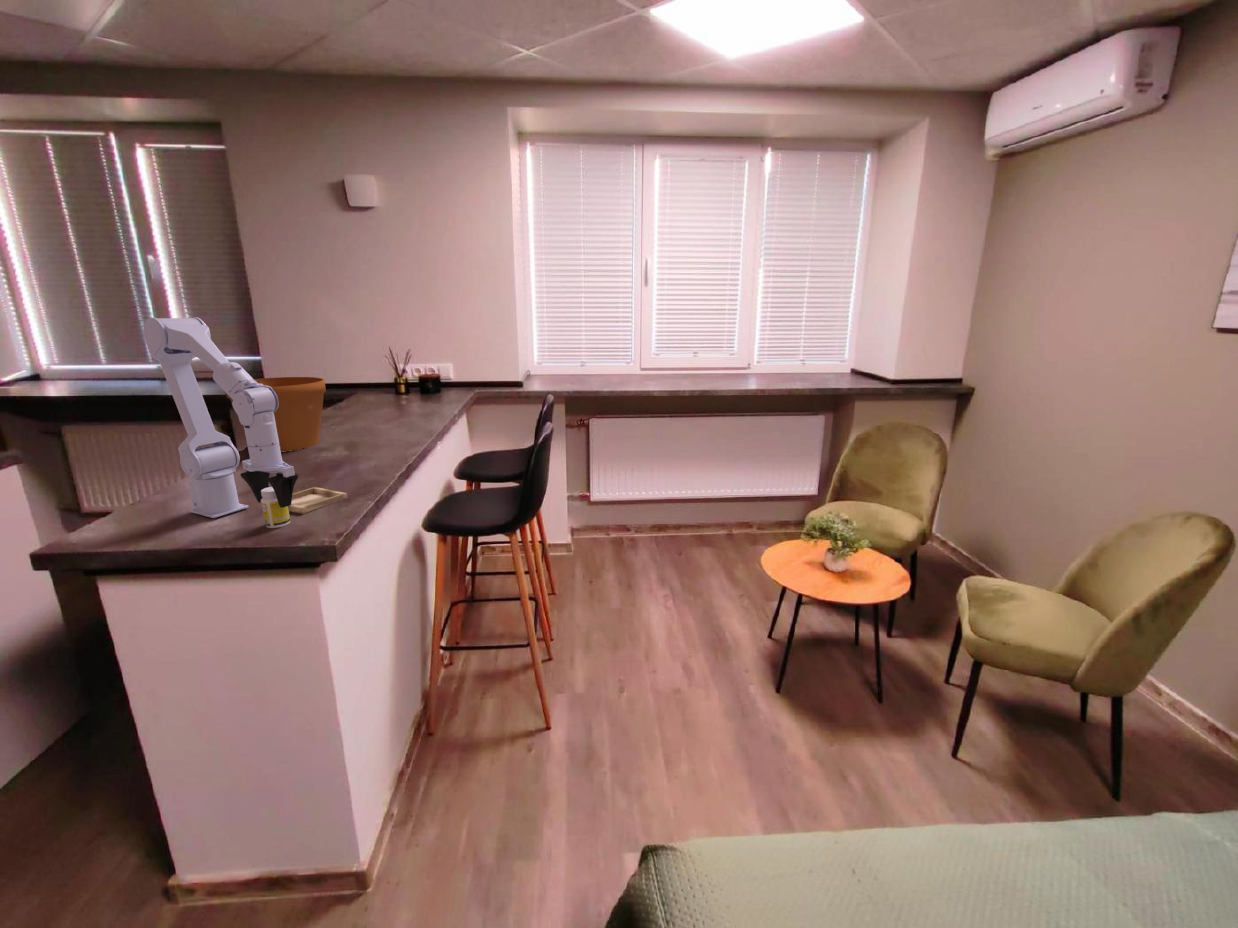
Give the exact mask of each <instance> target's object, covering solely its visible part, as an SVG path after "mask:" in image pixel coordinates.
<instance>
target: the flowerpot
mask: <svg viewBox="0 0 1238 928" xmlns="http://www.w3.org/2000/svg"><path fill="white" fill-rule="evenodd" d="M253 379H254V380H255V381H256V382H257V383H258V384H263V385H264V386H265V385H266V386H270V387H271V388H272V389H273V390H274V392H275V393H276V395H277V397H278V402H279V405H278V409H277V410H276V411H275V412H274V417H275V422H276V428H277V434H278V439H279V445H280V451H289V450H297V451H299V450H298V449H302V450H304V449H303V448H306V449H308V448H307V447H310V448H312V447H311V446H313V447H315V446H317V445H318V444H319V443H320V436H321V427H322V416H323V406H324V397H325V395H324V393H326V392H327V390H326V381H325V379H324V378H322V377H316V376H314V377H313V376H281V377H265V378H264V377H263V378H253ZM225 395H226V398H227V399H229V400H230V402H231V403H232V402H233V399H232V398H231V397H230V396H229V395H228V394H227V393H226V392H225ZM241 426H242V427H243V429H244V425H242V424H241ZM316 444H317V445H316ZM314 445H315V446H314Z"/></svg>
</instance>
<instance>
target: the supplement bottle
mask: <svg viewBox="0 0 1238 928" xmlns="http://www.w3.org/2000/svg"><path fill="white" fill-rule="evenodd" d="M261 495H262V497H263V498H262V499H261V503H260V504H261V510H262V514H263V519H264V520H263V521H264V524H265V528H268V529H277V528H282V527H285V526H287V525H289V524H290V523H291V516H290V511H288V506H287V507H283V508H281V507H280V506H279V503H278V500H277V497H276V494H275V491H274V489H273V487H272V486H269V487H268V488H264V489H262V490H261Z"/></svg>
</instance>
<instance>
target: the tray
mask: <svg viewBox="0 0 1238 928" xmlns="http://www.w3.org/2000/svg"><path fill="white" fill-rule="evenodd" d="M299 497H301V498H299ZM346 499H348V493H347V492H343V491H342V492H341V491H337V490H332V489H327V488H323V487H317V486H313V487H310V488H307V489H303V490H299V491H297V492H293V494H292V502H291V505H290V506H288V511H289V513H290V512H291V513H294V514H298V515H302V516H303V515H307V514H309V513H311V512H314V511H318V510H319V509H322V508H325V507H327V506H331V505H333V504H335V503H338V502H342V501H343V500H346Z"/></svg>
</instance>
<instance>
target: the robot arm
mask: <svg viewBox="0 0 1238 928" xmlns="http://www.w3.org/2000/svg"><path fill="white" fill-rule="evenodd" d="M142 331H143V332H142V335H143V338H144V340H145V343H146V346H147V348H148V350H149V353H150V355H151V358H152V359H153V360H155V361H158V362H159V365H160V367H161V370H162V372H163V374H164V377H165V379H166V383H167V384H168V387H169V390H170V392H171V395H172V398H173V401H174V402H175V403H174V404H175V405H176V408H177V410H178V413H179V416H180V419H181V422H182V424H183V426H184V429H185V431H186V434H187V436H186V438H185V439H183V441H182V443H180V444H179V446H178V447H177V450H178V453H179V461H180V462H179V463H180V467H181V469H182V470H183V472H184V473H185V474H186V475H187V476H188V477H190V480H189V482H188V489H189V494H190V498H191V502H192V507H193V508H192V509H190V510H189V512H190V513H192V514H196V515H200V516H204V517H207V518H212V519H215V518H218V517H222V516H225V515H228V514H232V513H235V512H239V511H241V510H242V511H243V510H245V509H248V508H249V505H248V504H243V503H240V501H239V496H238V491H237V486H236V482H235V476H234V472H237V469H236V468H237V467H238V466H239V465H240V460H241V459H240V458H241V457H240V454H239V450H238V448H236V446H235V445H234V444H233V442H232V440H231V437H230V436H228V435H227V434H224V433H222V432H219V431H217V430H216V429H215V426H214V423H213V421H212V418H211V415H210V413H209V411H208V407H207V405H206V402H205V399H204V396H203V394H202V391H201V389H200V386H199V384H198V381H197V378H196V376H195V373H194V370H193V367H192V365H191V364H192V361H193V359H195V358H196V359H197V358H198V359H199V360H200V361H201V362H202V363H203V364H205V365H206V366H207V367H208V368H209V369H211V371H213V373H212V379H213V381H214V382H215V383H216V384H217V385H218V386H219V387H220V389H222V390H223V391H224V392H225V394H226V393H227V394H228V395H229V396H230V397H231V398H232V399H233V402H231V405H232V409H233V410H234V411H235V413H236V415H237V416H238V420H239V423H240V425H241V426H242V425H244V428H243V430H244V434H245V440H246V445H247V449H248V455H249V459H245V460H242V461H241V463H242V464H241V465H242V468H243V470H246V471H245V472H241V473H240V477H241V478H242V479H243V480H244V482H246V483H247V485H248V486H249V488H250V490H251V491H252V493H253V495H254V497H255V499H256V501H257V503H259V504H261V499H262V498H263V497H262V495H261V490H262V489H264V488H268V487H273V489H274V491H275V494H276V497H277V500H278V503H279V506H280V507H281V508H283V507H287V506H290V505H291V502H292V494H293V493H294V488H295V485H296V483H297V480H298V478H299V474H298V473H297V472H296V473H295V468H294V466H293V465H290V464H289V463H287V462H285V461H284V460H283V458H282V453H281V451H280V445H279V439H278V434H277V428H276V422H275V417H274V412H275V411H276V410H277V409H278V405H279V402H278V397H277V395H276V393H275V392H274V390H273V389H272V388H271V387H270V386H266V385H265V386H264V385H263V384H258V383H257V382H256V381H255V380H254V379H255V378H253V377H252V376H251V375H250V374H249V373H248V372H247V371H246V370H245V369H244V368H243V367H242V365H240V364H239V363H237V362H233V361H229V360H228V359H227V357H225V355H224V354H223V352H222V351H221V350H220V349H219V348H218V347H217V345H216V344H215V343H214V341H213V340H212V338H211V330H210V328H209V326H208V325H207V324H206V323H205V322H204V321H203V319H201V318H199V317H196V316H194V317H180V318H179V317H176V318H175V317H174V318H170V317H169V318H165V317H163V318H161V317H160V318H159V317H149V318H147V319H146V320H145V322H144V325H143V330H142ZM208 445H211V446H208ZM203 446H206V447H203ZM199 447H200V448H199ZM271 474H273V476H272V477H270V475H271ZM274 474H275V476H274ZM269 484H270V486H269Z"/></svg>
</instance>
